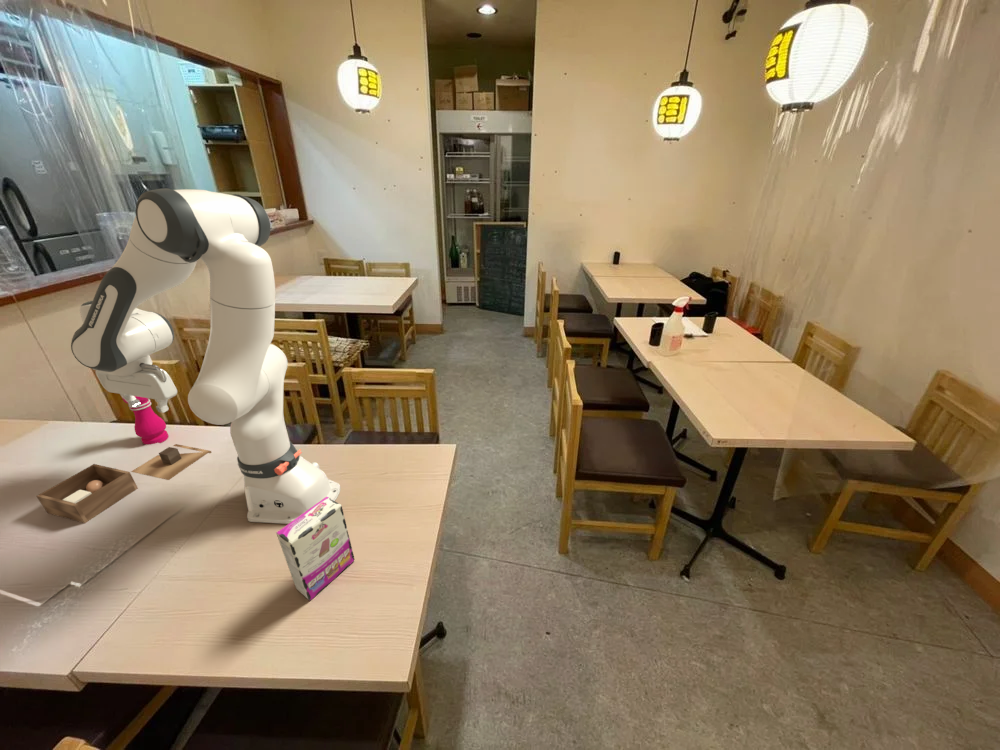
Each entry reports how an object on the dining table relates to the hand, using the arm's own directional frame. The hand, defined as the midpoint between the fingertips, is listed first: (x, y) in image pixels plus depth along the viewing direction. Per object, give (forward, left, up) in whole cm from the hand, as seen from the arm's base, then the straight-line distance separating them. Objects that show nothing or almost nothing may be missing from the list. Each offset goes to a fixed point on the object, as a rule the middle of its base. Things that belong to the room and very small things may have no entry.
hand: (149, 408), depth 106 cm
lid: (0, 0, -19) cm, 19 cm away
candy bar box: (-64, +20, -18) cm, 69 cm away
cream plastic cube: (+4, +19, -17) cm, 26 cm away
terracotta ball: (+7, +15, -17) cm, 24 cm away
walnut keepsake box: (+4, +17, -18) cm, 25 cm away
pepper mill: (+15, -7, -18) cm, 25 cm away
